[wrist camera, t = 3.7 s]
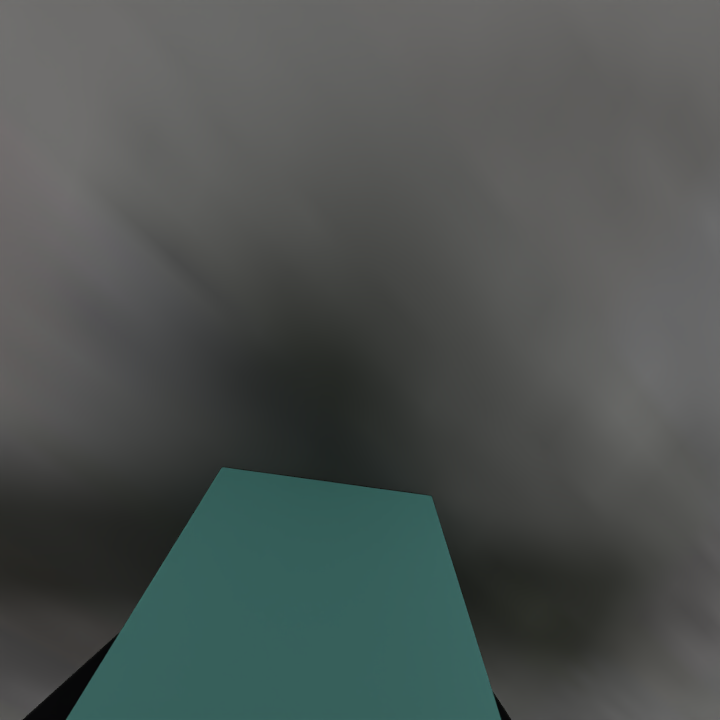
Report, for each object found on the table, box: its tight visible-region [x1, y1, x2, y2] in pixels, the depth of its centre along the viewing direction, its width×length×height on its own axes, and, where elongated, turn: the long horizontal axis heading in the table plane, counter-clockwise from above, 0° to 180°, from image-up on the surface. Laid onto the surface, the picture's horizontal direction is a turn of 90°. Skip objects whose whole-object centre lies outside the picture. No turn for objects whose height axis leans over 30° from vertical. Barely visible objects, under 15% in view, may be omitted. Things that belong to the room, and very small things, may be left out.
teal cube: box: [66, 467, 501, 720], centre depth 6 cm, size 5×5×6 cm
